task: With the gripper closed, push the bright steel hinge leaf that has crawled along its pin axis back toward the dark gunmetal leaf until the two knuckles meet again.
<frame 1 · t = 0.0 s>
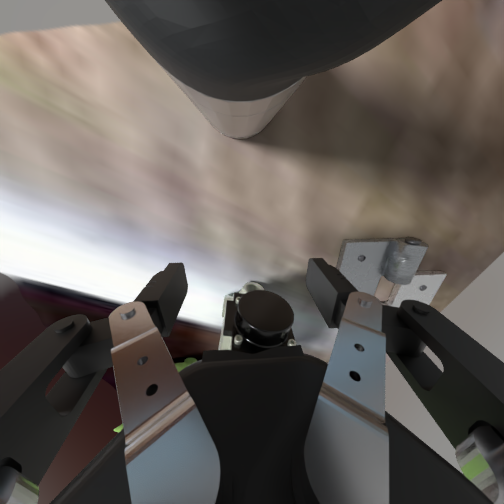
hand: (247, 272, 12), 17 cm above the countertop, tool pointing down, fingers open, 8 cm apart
ball valve: (245, 298, 35), on the countertop
fixed leaf: (388, 272, 34), on the countertop
loose leaf: (404, 307, 36), point 2 cm above the countertop, slide at 7.0 cm
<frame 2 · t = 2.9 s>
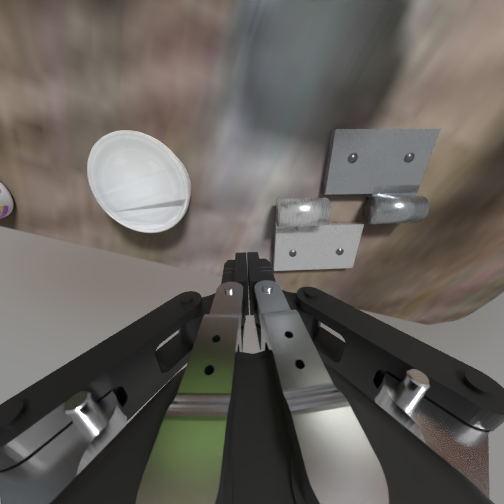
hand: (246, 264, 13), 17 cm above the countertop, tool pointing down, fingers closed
ramekin: (158, 183, 26), on the countertop
fixed leaf: (362, 207, 29), on the countertop
loose leaf: (320, 238, 28), point 2 cm above the countertop, slide at 7.0 cm
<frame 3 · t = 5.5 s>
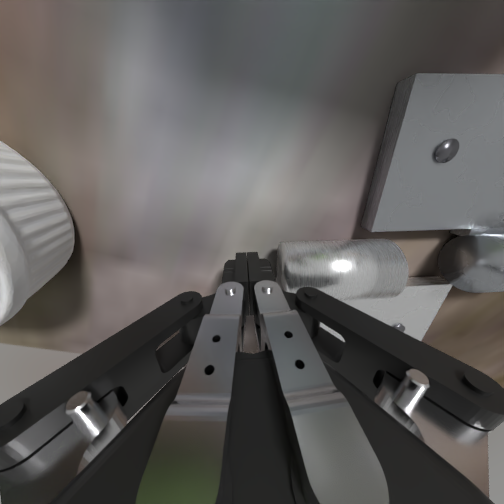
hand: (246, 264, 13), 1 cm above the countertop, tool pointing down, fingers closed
ramekin: (1, 210, 12), on the countertop
fixed leaf: (438, 251, 15), on the countertop
loose leaf: (367, 313, 14), point 2 cm above the countertop, slide at 6.1 cm, touching gripper
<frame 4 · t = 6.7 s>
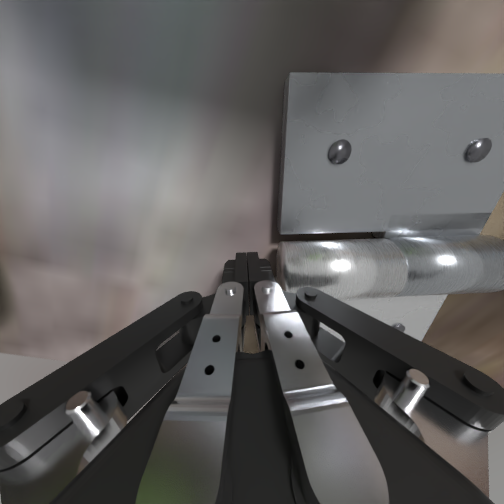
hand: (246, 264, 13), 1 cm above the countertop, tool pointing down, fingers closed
fixed leaf: (364, 254, 14), on the countertop
loose leaf: (367, 313, 14), point 2 cm above the countertop, slide at 0.0 cm, touching gripper
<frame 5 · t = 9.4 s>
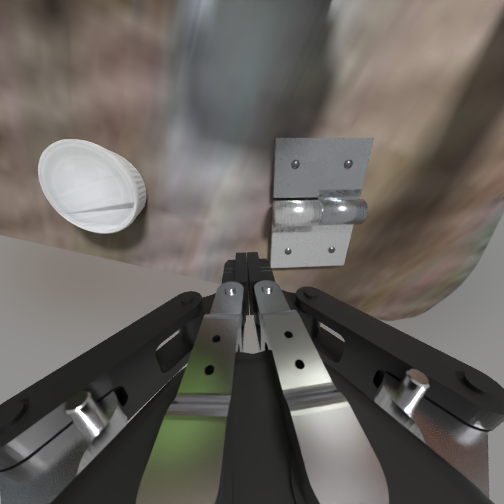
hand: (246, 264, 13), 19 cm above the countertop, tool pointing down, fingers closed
ramekin: (115, 187, 28), on the countertop
fixed leaf: (312, 210, 31), on the countertop
loose leaf: (313, 237, 31), point 2 cm above the countertop, slide at 0.0 cm
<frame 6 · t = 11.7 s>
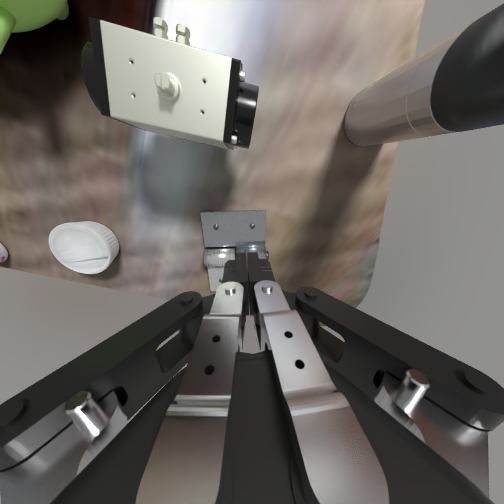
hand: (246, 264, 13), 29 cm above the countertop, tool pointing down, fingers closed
ramekin: (98, 240, 41), on the countertop
ball valve: (200, 118, 33), on the countertop
fixed leaf: (235, 252, 44), on the countertop
loose leaf: (236, 271, 44), point 2 cm above the countertop, slide at 0.0 cm
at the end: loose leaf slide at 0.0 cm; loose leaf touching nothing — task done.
